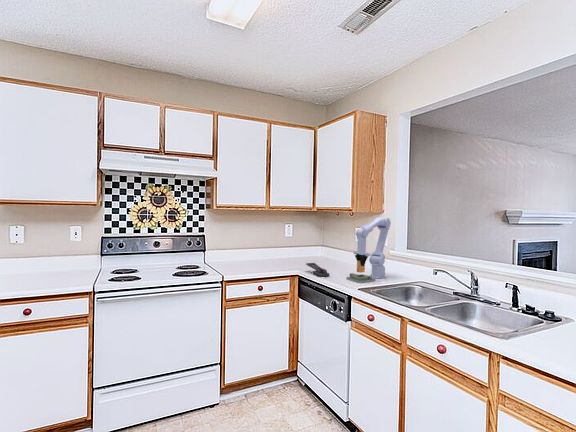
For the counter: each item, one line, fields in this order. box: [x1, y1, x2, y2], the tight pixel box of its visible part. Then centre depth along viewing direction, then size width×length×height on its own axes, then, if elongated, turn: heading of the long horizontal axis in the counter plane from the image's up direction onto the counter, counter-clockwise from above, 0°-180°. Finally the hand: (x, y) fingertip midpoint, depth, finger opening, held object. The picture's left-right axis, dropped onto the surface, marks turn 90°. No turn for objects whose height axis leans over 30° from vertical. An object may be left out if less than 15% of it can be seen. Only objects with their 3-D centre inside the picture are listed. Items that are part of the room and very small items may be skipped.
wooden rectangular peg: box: [356, 259, 366, 273], centre depth 229 cm, size 4×3×8 cm, turn 120°
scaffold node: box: [346, 272, 377, 284], centre depth 231 cm, size 14×17×4 cm
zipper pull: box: [305, 262, 331, 278], centre depth 248 cm, size 9×7×25 cm
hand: (361, 265), depth 229 cm, fingers closed on wooden rectangular peg, 3 cm apart
